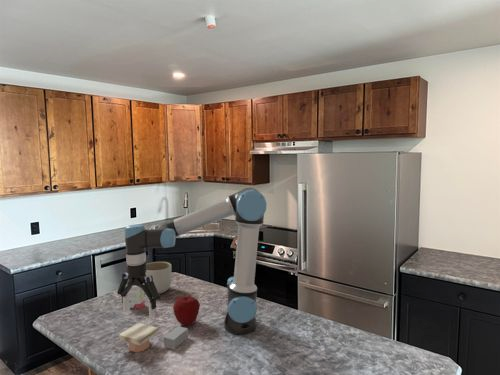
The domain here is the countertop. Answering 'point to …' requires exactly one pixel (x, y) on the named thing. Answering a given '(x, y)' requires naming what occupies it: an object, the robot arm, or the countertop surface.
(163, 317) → the countertop surface
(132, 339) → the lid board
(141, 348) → the bowl
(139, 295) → the ink box
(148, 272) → the planter
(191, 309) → the apple
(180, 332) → the grey rectangular block
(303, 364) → the countertop surface
